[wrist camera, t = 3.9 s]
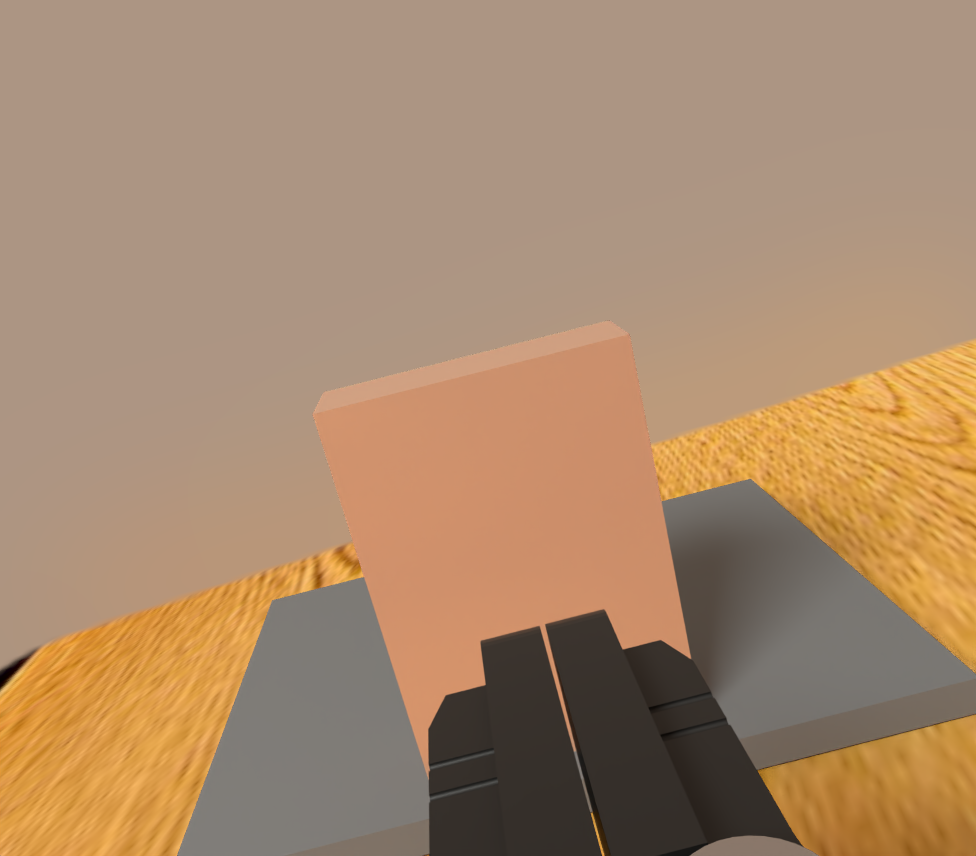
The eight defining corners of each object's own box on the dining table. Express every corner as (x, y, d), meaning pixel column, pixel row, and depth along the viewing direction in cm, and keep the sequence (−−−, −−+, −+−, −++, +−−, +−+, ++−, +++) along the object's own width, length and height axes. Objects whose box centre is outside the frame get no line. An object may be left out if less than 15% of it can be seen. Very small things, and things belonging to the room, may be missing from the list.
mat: (753, 500, 33) (750, 478, 33) (981, 711, 19) (979, 677, 19) (279, 621, 33) (272, 600, 32) (180, 918, 19) (165, 886, 19)
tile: (676, 669, 22) (607, 319, 19) (702, 718, 20) (629, 334, 17) (430, 731, 22) (324, 390, 19) (431, 788, 20) (312, 413, 17)
